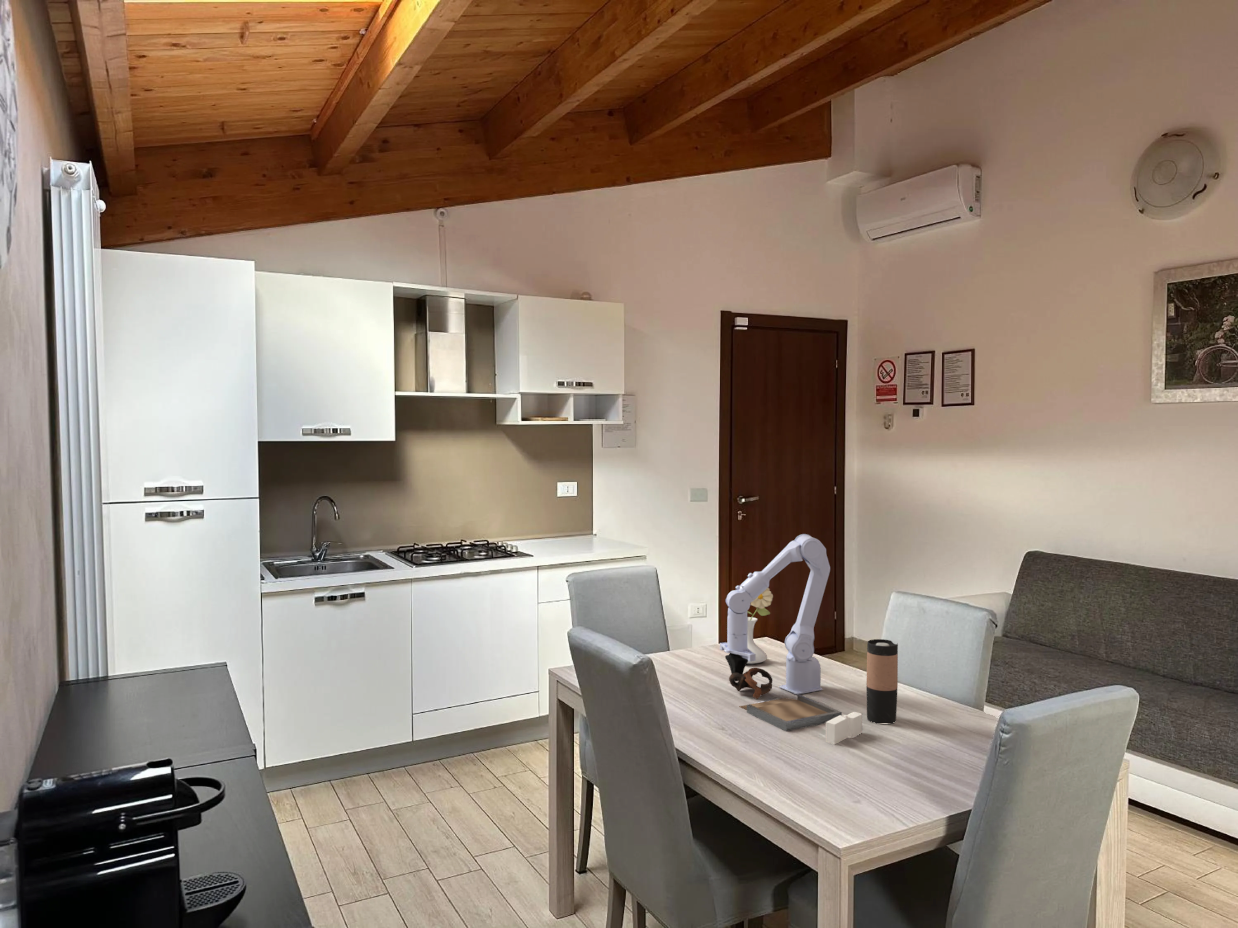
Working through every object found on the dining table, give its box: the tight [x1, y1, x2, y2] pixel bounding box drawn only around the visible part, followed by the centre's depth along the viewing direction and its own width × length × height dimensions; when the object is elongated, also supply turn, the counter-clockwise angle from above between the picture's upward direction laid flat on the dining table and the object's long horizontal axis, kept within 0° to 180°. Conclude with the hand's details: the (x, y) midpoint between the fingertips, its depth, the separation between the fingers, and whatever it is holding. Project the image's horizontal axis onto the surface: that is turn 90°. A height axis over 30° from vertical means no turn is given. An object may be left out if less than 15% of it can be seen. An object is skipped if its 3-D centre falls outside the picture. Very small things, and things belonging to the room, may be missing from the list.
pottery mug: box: [728, 667, 773, 700], centre depth 247 cm, size 12×10×8 cm
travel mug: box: [865, 638, 899, 724], centre depth 226 cm, size 8×8×20 cm
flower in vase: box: [747, 587, 774, 664], centre depth 280 cm, size 13×11×25 cm
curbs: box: [746, 694, 843, 732], centre depth 229 cm, size 18×16×2 cm
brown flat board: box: [738, 697, 827, 721], centre depth 232 cm, size 16×20×2 cm
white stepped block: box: [825, 711, 863, 745], centre depth 213 cm, size 15×11×6 cm
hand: (737, 680), depth 251 cm, fingers closed
